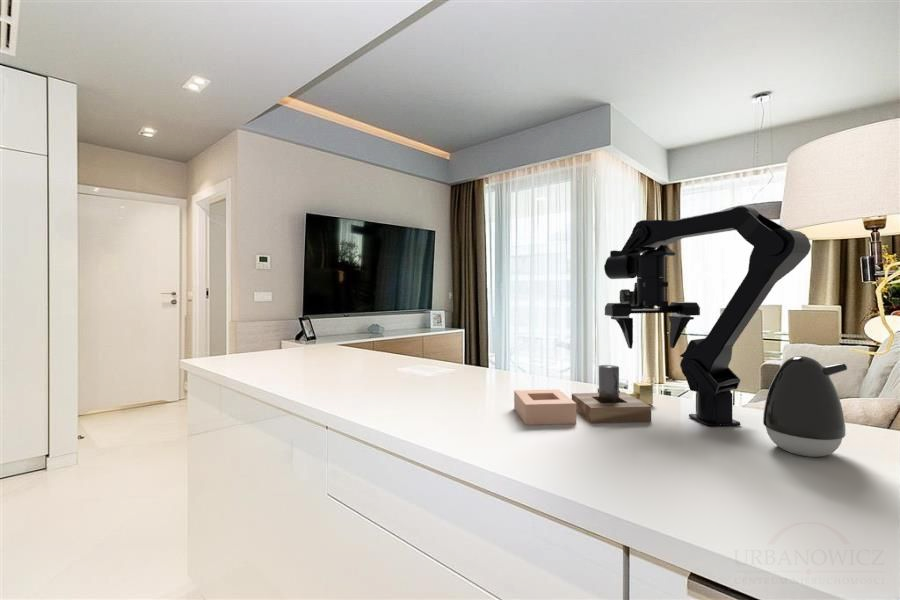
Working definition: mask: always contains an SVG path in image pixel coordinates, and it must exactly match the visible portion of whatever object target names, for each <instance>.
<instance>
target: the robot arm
mask: <svg viewBox="0 0 900 600" xmlns="http://www.w3.org/2000/svg"><path fill="white" fill-rule="evenodd" d="M732 231H736V232H737V233H738V234H739V235H740V236H741V237H742V238H743V240H745V241H746V242H747V243H749V244H750V245H751V246H752V247H753V248H752V250H751V252H750V254H749V255H750V256H749V260H748V261H749V262H748V268H747V269H748V270H747V273H746V275H745V276H744V278H743V280H742V281H741V282H740V284H739V286H738V287H737V289H736V290H735V292H734V294H733V295H732V297H731V298H730V300H729V302H728V303H727V304H726V306H725V307H724V309H723V311H722V312H721V314H720V316H719V317H718V319H717V320H716V322H715V323H714V324H713V327H711V330H710V331H709V333H708V335H706V336H705V337H703V338H697V339H691V340H690V341H688V342H689V343H687V347H686V349H685V351H684V352H682V353H681V354H680V355H679V357H680V358H682V359H681V360H680V362H679V367H680V369H681V373H682V374H683V376H684V377H685V379H686V382H687V385H688V388H689V391H692V392H695V413H689V414H688V417H689V418H691V419H693V420H695V421H696V422H699V423H701V424H704V425H705V426H709V427H714V426H718V427H721V426H741V421H738V420H736V419H733V392H731V391H733V390H737V389H738V387H739V385H740V383H741V378H740V377H738V376H737V374H736V373H734V371H733V370H731V368H730V367H729V365H730V362H731V361H732V357H733V347H734V346H735V344H736V342H737V341H738V339H739V338H740V336H741V335H742V333H743V332H744V331H745V329H746V328H747V326H748V325H749V323H750V322H751V320H752V318H753V317H754V316H755V314H756V313H757V311H758V310H759V308H760V307H761V305H762V303H763V302H764V301H765V300H766V298H767V297H768V295H769V294H770V292H771V291H772V289H773V288H774V286H775V285H776V284H777V283H778V282H779V281H780V280H781V279H783V278H784V277H785V276H786V275H788V274H789V273H790V272H792V271H793V270H795V268H797V266H798V265H799V264H800V263H801V262H802V261H803V260H804V259H805V258H806V257H808V255H809V253H810V252H811V246H812V244H811V242H810V239H809V238H808V236H807V235H806V234H805V233H803V232H801V231H798V230H793V229H787V228H785V227H784V226H783V225H782V224H778V223H777V222H775V221H774V220H771V219H770V218H769V217H767V216H764V215H763V214H761V213H760V212H759V211H758V210H757V209H755V208H752V207H747V206H742V205H740V206H738V205H737V206H735V207H733V208H731V209H725V210H724V209H723V210H720V211H714V212H709V213H704V214H699V215H693V216H688V217H684V218H678V219H670V220H669V219H642V220H639V221H637V222H636V223H635V226H634V227H633V228H632V231H631V234H630V235H629V237H628V238H627V240H626V242H625V243H624V244H623V245H624V246H623V247H622V248H621V250H610V252H609V254H610V255H609V256H608V257H607V258H606V260H605V264H604V265H603V267H604V268H603V269H604V273H605V275H606V277H607V278H608V279H610V280H619V279H620V280H623V279H625V280H626V279H635V278H636V282H634V286H633V287H634V288H633V290H632V291H631V290H630V288H629V289H626V288H624V289H621V290H619V302H607V303H606V304H605V306H604V315H605V316H608V317H610V319H611V320H615V321H616V322H617V323H618V325H619V327H620V330H621V331H622V334H623V337H624V339H625V342H626V345H627V347H628V349H633V345H634V344H633V343H634V324H633V323H634V318H633V317H630V315H631V314H671V315H668V316H667V317H668V320H669V323H670V324H669V328H670V329H669V347H670V349H675V347H676V345H677V343H678V341H679V339H680V337H681V335H682V333H683V331H684V329H685V328H686V327H687V325H688V324H689V322H690V321H691V320H694V319H695V317H694V316H701V307H700V305H699V304H698V303H697V302H696V301H695V302H693V301H673V302H672V301H671V302H670V303H669V301H668V300H666V288H667V287H668V288H669V282H668V281H666V257H674V256H675V255H676V252H675V251H673V249H671V248H669V246H668V245H671V244H674V243H676V242H677V241H679V240H682V239H685V238H686V239H687V238H694V237H698V236H699V237H700V236H705V235H712V234H720V233H723V232H724V233H725V232H732Z"/></svg>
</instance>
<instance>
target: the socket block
mask: <svg viewBox="0 0 900 600" xmlns="http://www.w3.org/2000/svg"><path fill="white" fill-rule="evenodd" d="M627 393H628V392H626V391H622V392H621V390H619V403H600V402H599V388H597V392H580V393H579V392H577V393H571V400H573V401H574V402H575V403H576V412H577V413H579V414H580V415H581V416H582V417H583V418H585V419H586V420H587V421H588V422H589V423H591V424H607V423H609V424H610V423H611V424H612V423H640V422H641V423H642V422H643V423H644V422H651V423H652V406H651V404H646V403H644V402H642V401H640V400H638V399H636V398H634V397H633V396H631V395H629V394H627Z"/></svg>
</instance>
